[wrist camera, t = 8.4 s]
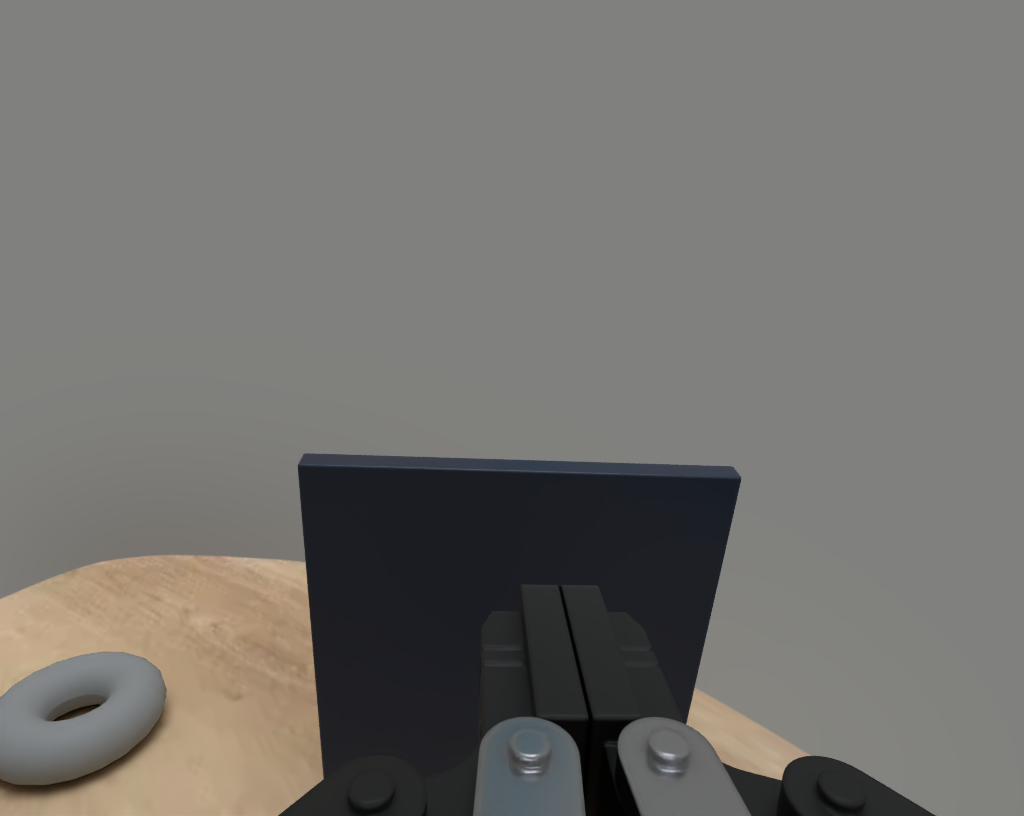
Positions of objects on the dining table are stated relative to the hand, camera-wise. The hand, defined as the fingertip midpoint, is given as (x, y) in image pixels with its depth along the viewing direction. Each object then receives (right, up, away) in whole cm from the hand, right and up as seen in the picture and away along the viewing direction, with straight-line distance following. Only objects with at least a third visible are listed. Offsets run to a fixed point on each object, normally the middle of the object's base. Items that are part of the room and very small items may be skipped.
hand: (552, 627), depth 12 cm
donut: (-29, -17, +29) cm, 44 cm away
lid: (-1, -5, +11) cm, 12 cm away
